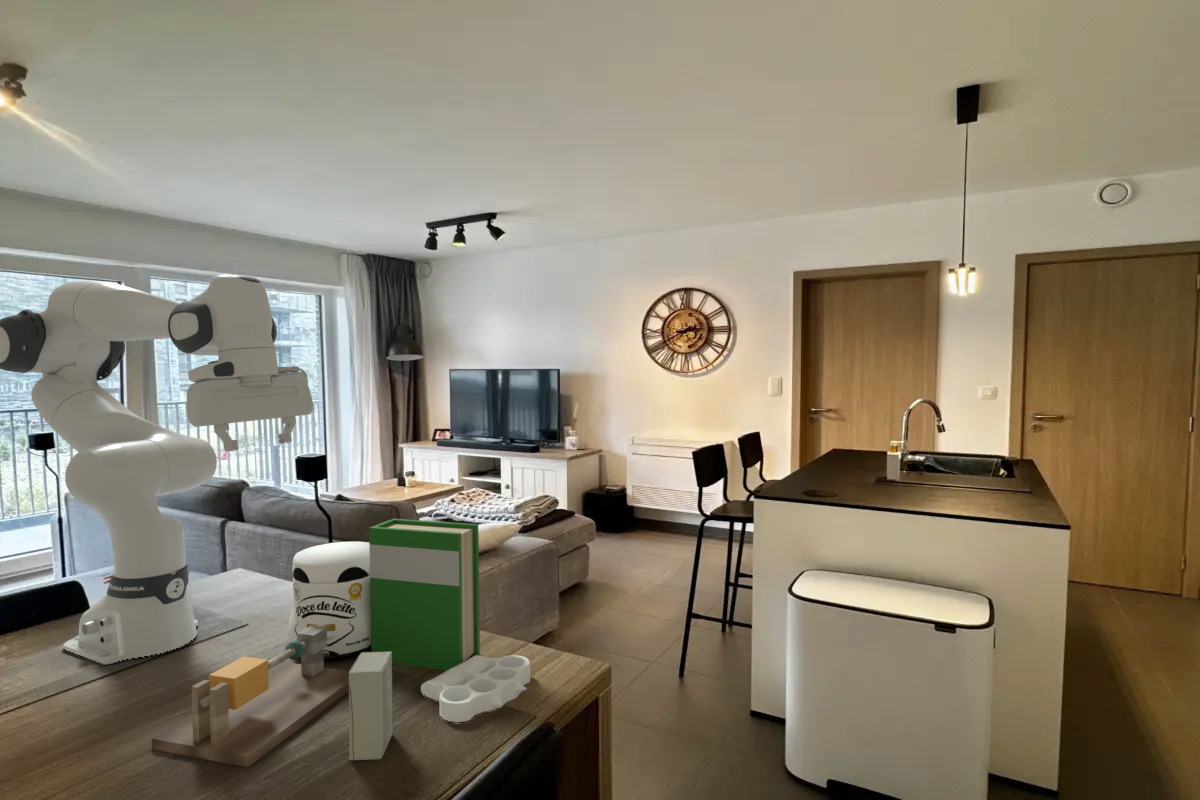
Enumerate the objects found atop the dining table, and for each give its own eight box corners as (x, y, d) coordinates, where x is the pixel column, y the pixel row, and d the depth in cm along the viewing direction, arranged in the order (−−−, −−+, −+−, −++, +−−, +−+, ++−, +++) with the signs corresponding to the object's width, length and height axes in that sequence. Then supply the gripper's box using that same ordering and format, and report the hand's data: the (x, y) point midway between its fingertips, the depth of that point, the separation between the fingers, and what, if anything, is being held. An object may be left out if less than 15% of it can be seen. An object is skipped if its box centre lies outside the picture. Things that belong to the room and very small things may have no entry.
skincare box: (362, 735, 90) (360, 651, 90) (394, 733, 91) (392, 650, 90) (348, 762, 84) (346, 672, 83) (382, 760, 84) (381, 670, 84)
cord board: (151, 749, 87) (149, 684, 87) (281, 670, 110) (280, 619, 110) (248, 767, 83) (246, 699, 82) (361, 681, 106) (361, 628, 106)
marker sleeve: (209, 705, 89) (209, 674, 89) (244, 685, 95) (243, 656, 95) (235, 709, 88) (234, 678, 88) (268, 689, 94) (267, 659, 94)
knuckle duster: (484, 663, 114) (550, 683, 106) (404, 707, 99) (474, 736, 91) (484, 644, 114) (550, 664, 106) (404, 686, 98) (474, 713, 91)
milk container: (300, 677, 108) (297, 572, 107) (281, 642, 122) (278, 549, 121) (401, 650, 118) (399, 554, 117) (372, 621, 132) (371, 535, 131)
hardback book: (479, 654, 116) (478, 524, 115) (460, 672, 109) (458, 534, 108) (395, 643, 121) (393, 518, 120) (371, 660, 114) (369, 527, 113)
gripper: (295, 367, 120) (305, 439, 121) (177, 372, 103) (188, 456, 104) (315, 363, 117) (324, 438, 117) (195, 367, 100) (206, 455, 100)
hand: (259, 446), depth 110 cm, fingers open, 8 cm apart
